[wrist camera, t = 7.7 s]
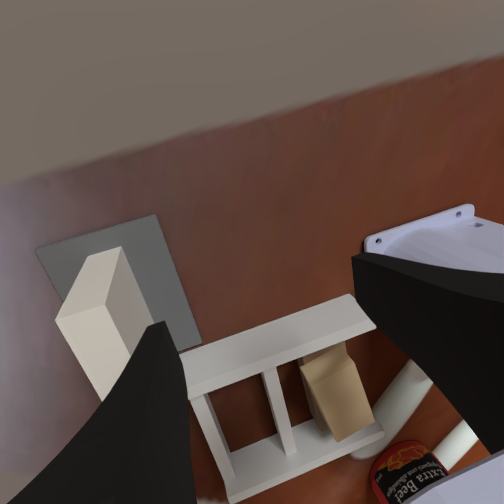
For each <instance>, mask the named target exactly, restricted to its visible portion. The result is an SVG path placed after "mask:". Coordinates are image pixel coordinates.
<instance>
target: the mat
mask: <svg viewBox="0 0 504 504" xmlns="http://www.w3.org/2000/svg"><path fill="white" fill-rule="evenodd" d="M120 246H122V249H123V251H124V253H125V256H126V258H127V260H128V263H129V265H130V267H131V270H132V272H133V275H134V277H135V279H136V282H137V284H138V286H139V289H140V291H141V293H142V296H143V298H144V300H145V303H146V305H147V307H148V310H149V312H150V314H151V317H152V319H153V321H154V324H155V323H158V322H161V321H164V320H165V322H166V324H167V327H168V329H169V332H170V334H171V337H172V339H173V341H174V344H175V346H176V349H177V351H181V350H184V349H187V348H190V347H192V346H195V345H198V344H201V343H202V339H201V336H200V334H199V331H198V328H197V325H196V323H195V320H194V317H193V314H192V312H191V309H190V306H189V303H188V301H187V298H186V295H185V292H184V290H183V287H182V284H181V281H180V279H179V276H178V273H177V270H176V268H175V265H174V262H173V259H172V257H171V254H170V251H169V248H168V246H167V243H166V240H165V237H164V235H163V232H162V229H161V226H160V224H159V221H158V218H157V215H156V214H153V215H149V216H146V217H142V218H139V219H135V220H132V221H128V222H125V223H122V224H118V225H115V226H111V227H108V228H104V229H101V230H97V231H94V232H90V233H87V234H83V235H80V236H77V237H73V238H70V239H66V240H63V241H59V242H56V243H52V244H49V245H45V246H42V247H39V248H36V249H35V252H36V254H37V256H38V258H39V259H40V261H41V263H42V265H43V267H44V268H45V270H46V272H47V274H48V276H49V277H50V279H51V281H52V283H53V285H54V286H55V288H56V290H57V292H58V294H59V295H60V297H61V299H62V301H63V303H64V302H65V300H66V298H67V296H68V294H69V292H70V290H71V288H72V286H73V284H74V282H75V280H76V278H77V276H78V274H79V272H80V270H81V268H82V266H83V264H84V262H85V260H86V259H87V257H88V256H90V255H93V254H97V253H100V252H103V251H107V250H110V249H114V248H117V247H120Z"/></svg>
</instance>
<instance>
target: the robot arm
mask: <svg viewBox="0 0 504 504" xmlns="http://www.w3.org/2000/svg"><path fill="white" fill-rule="evenodd" d="M456 213H457V215H456ZM377 239H378V242H377V243H375V242H376V240H377ZM364 251H365V252H364V253H361V254H358V255H355V256H352V257H351V260H352V269H353V279H354V288H355V298H356V302H357V304H358V305H359V306H360V307H361V309H362V310H363V311H364V313H365V314H366V315H367V316H368V317H369V319H370V320H371V321H372V322H373V323H374V324H375V325H376V326H377V327H378V328H379V329H380V330H381V331H382V332H383V333H384V334H385V335H386V336H387V337H389V338H390V339H391V340H392V341H393V342H394V343H395V344H396V345H397V346H398V347H399V348H400V349H401V350H402V351H403V352H405V353H406V354H407V355H408V356H409V357H410V358H411V359H412V360H413V361H414V362H415V363H416V364H417V365H418V366H419V367H420V368H421V369H422V370H423V371H424V372H425V373H426V375H427V376H428V377H429V378H430V379H431V380H432V381H433V383H434V384H435V385H436V386H437V387H438V388H439V390H440V391H441V392H442V393H443V394H444V395H445V397H446V398H447V399H448V400H449V402H450V403H451V404H452V405H453V406H454V408H455V409H456V410H457V411H458V413H459V414H460V415H461V416H462V417H463V419H464V420H465V421H466V423H467V424H468V425H469V426H470V428H471V429H472V430H473V432H474V433H475V434H476V436H477V437H478V438H479V439H480V441H481V442H482V443H483V445H484V446H485V447H486V449H487V450H488V451H489V453H490V454H491V456H489V457H487V458H484V459H482V460H480V461H478V462H476V463H474V464H472V465H470V466H468V467H465V468H463V469H461V470H459V471H457V472H455V473H453V474H451V475H449V476H447V477H444V478H442V479H440V480H438V481H436V482H434V483H432V484H430V485H428V486H427V487H425V488H423V489H422V490H420V491H419V492H417V493H416V494H414V495H413V496H411V497H410V498H408V499H407V500H405V501H404V502H403V503H402V504H504V225H501V224H498V223H495V222H491V221H488V220H485V219H481V218H478V217H475V216H474V206H473V205H471V204H464V205H461V206H458V207H455V208H452V209H449V210H446V211H443V212H440V213H437V214H434V215H431V216H428V217H425V218H422V219H419V220H416V221H413V222H410V223H407V224H404V225H401V226H398V227H395V228H392V229H389V230H386V231H383V232H380V233H377V234H374V235H371V236H369V237H367V238H366V239H365V241H364ZM7 504H197V500H196V493H195V486H194V479H193V472H192V464H191V453H190V432H189V410H188V391H187V385H186V379H185V373H184V368H183V363H182V361H181V359H180V356H179V354H178V351H177V349H176V346H175V344H174V341H173V339H172V337H171V334H170V332H169V329H168V327H167V324H166V322H165V320H164V321H161V322H158V323H155V324H152V325H149V326H147V328H146V330H145V331H144V333H143V335H142V337H141V339H140V341H139V343H138V345H137V346H136V348H135V350H134V352H133V354H132V356H131V357H130V359H129V361H128V363H127V365H126V366H125V368H124V370H123V371H122V373H121V375H120V376H119V378H118V379H117V381H116V383H115V384H114V386H113V387H112V389H111V390H110V392H109V393H108V395H107V396H106V398H105V399H104V400H103V402H102V403H101V404H100V406H99V407H98V408H97V410H96V411H95V412H94V414H93V415H92V416H91V417H90V419H89V420H88V421H87V422H86V424H85V425H84V426H83V427H82V428H81V429H80V430H79V432H78V433H77V434H76V435H75V436H74V437H73V438H72V440H71V441H70V442H69V443H68V444H67V445H66V446H65V447H64V449H63V450H62V451H61V452H60V453H59V454H58V455H57V456H56V457H55V458H54V459H53V460H52V461H51V462H50V463H49V464H48V465H47V466H46V467H45V468H44V469H43V470H42V471H41V472H40V473H39V474H38V475H37V476H36V477H35V478H34V479H33V480H32V481H31V482H30V483H29V484H28V485H27V486H26V487H25V488H24V489H23V490H22V491H21V492H19V493H18V494H17V495H16V496H15V497H14V498H13V499H12V500H11V501H9V502H8V503H7Z"/></svg>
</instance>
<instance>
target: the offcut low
mask: <svg viewBox="0 0 504 504" xmlns="http://www.w3.org/2000/svg"><path fill="white" fill-rule="evenodd" d="M339 346H341V347H342V348H343V349H344V351H345V352H346V346H345V340H344V341H342V342H339V343H337V344H334V345H331V346H329V347H326V348H323V349H321V350H318V351H316V352H313V353H310V354H308V355H305V356H302V357H300V358H297V361H298V365H299V369H300V373H301V377H302V381H303V385H304V389H305V393H306V397H307V400H308V404H309V408H310V412H311V414H312V416H313V418H314V420H315V422H316V424H317V426H318V427H319V429H320V431H321V432H322V431H324V430H326V429H329V427H328V426H327V424H326V422H325V420H324V418H323V416H322V413H321V411H320V409H319V407H318V405H317V403H316V401H315V398H314V396H313V394H312V392H311V390H310V388H309V386H308V383H307V381H306V379H305V377H304V375H303V373H302V371H301V368H300V367H301V366H303V365H305V364H307V363H309V362H311V361H313V360H314V359H316V358H318V357H320V356H322V355H324V354H326V353H327V352H329V351H331V350H333V349H335V348H337V347H339ZM346 353H347V352H346Z"/></svg>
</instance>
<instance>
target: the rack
mask: <svg viewBox="0 0 504 504" xmlns="http://www.w3.org/2000/svg"><path fill="white" fill-rule="evenodd" d="M373 329H376V325H375V324H374V323H373V322H372V321H371V320H370V319H369V317H368V316H367V315H366V314H365V313H364V311H363V310H362V309H361V307H360V306H359V305H358V304H357V302H356V299H355V298H354V297H352V296H351V295H350V294H346V295H344V296H341V297H338V298H335V299H333V300H330V301H327V302H324V303H321V304H319V305H316V306H313V307H310V308H307V309H305V310H302V311H299V312H296V313H293V314H291V315H288V316H285V317H282V318H280V319H277V320H274V321H271V322H268V323H266V324H263V325H260V326H257V327H254V328H252V329H249V330H246V331H243V332H241V333H238V334H235V335H232V336H229V337H227V338H224V339H221V340H218V341H215V342H213V343H210V344H207V345H204V346H201V347H199V348H196V349H193V350H190V351H188V352H185V353H182V354H179V356H180V359H181V361H182V363H183V368H184V373H185V379H186V385H187V391H188V400H190V402H191V405H192V407H193V409H194V412H195V414H196V416H197V419H198V421H199V423H200V426H201V428H202V430H203V433H204V435H205V437H206V440H207V442H208V444H209V447H210V449H211V452H212V454H213V456H214V459H215V461H216V463H217V466H218V468H219V470H220V473H221V475H222V477H223V480H224V482H225V488H226V493H227V498H228V501H229V503H230V504H235V503H237V502H239V501H241V500H244V499H246V498H248V497H250V496H253V495H255V494H257V493H260V492H262V491H264V490H266V489H269V488H271V487H273V486H275V485H278V484H280V483H282V482H285V481H287V480H289V479H291V478H294V477H296V476H298V475H300V474H303V473H305V472H307V471H309V470H312V469H314V468H316V467H319V466H321V465H323V464H325V463H328V462H330V461H332V460H334V459H337V458H339V457H341V456H344V455H346V454H348V453H350V452H353V451H355V450H357V449H359V448H362V447H364V446H366V445H369V444H371V443H373V442H375V441H378V440H380V439H382V438H384V429H383V428H382V427H381V425H380V424H379V422H378V421H377V420H376V418H375V417H374V416H373V417H374V420H375V422H373V423H372V424H370V425H368V426H366V427H365V428H363V429H361V430H359V431H358V432H356V433H354V434H352V435H350V436H349V437H347V438H345V439H343V440H342V441H340V442H338V443H337V442H336V440H335V438H334V436H333V435H332V433H331V431H330V429H326V430H324V431H322V432H321V431H320V429H319V427H318V426H317V424H316V422H315V420H314V418H313V419H311V420H309V421H306V422H304V423H301V424H299V425H296V426H294V427H292V428H291V425H290V421H289V417H288V413H287V409H286V405H285V401H284V397H283V393H282V389H281V385H280V381H279V378H278V374H277V370H276V366H279V365H282V364H284V363H287V362H289V361H292V360H295V359H297V358H300V357H302V356H305V355H308V354H310V353H313V352H316V351H318V350H321V349H323V348H326V347H329V346H331V345H334V344H337V343H339V342H342V341H344V340H347V339H350V338H352V337H355V336H358V335H360V334H363V333H365V332H368V331H371V330H373ZM258 373H261V376H262V379H263V383H264V387H265V390H266V394H267V397H268V401H269V404H270V408H271V411H272V415H273V418H274V422H275V425H276V429H277V434H275V435H272V436H270V437H268V438H265V439H263V440H260V441H258V442H256V443H253V444H251V445H248V446H246V447H243V448H241V449H239V450H236V451H234V452H231V453H230V450H229V447H228V445H227V442H226V440H225V437H224V435H223V432H222V429H221V427H220V424H219V422H218V419H217V417H216V414H215V411H214V409H213V406H212V404H211V401H210V398H209V396H208V392H211V391H213V390H216V389H219V388H221V387H224V386H227V385H229V384H232V383H234V382H237V381H240V380H242V379H245V378H247V377H250V376H253V375H255V374H258Z"/></svg>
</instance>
